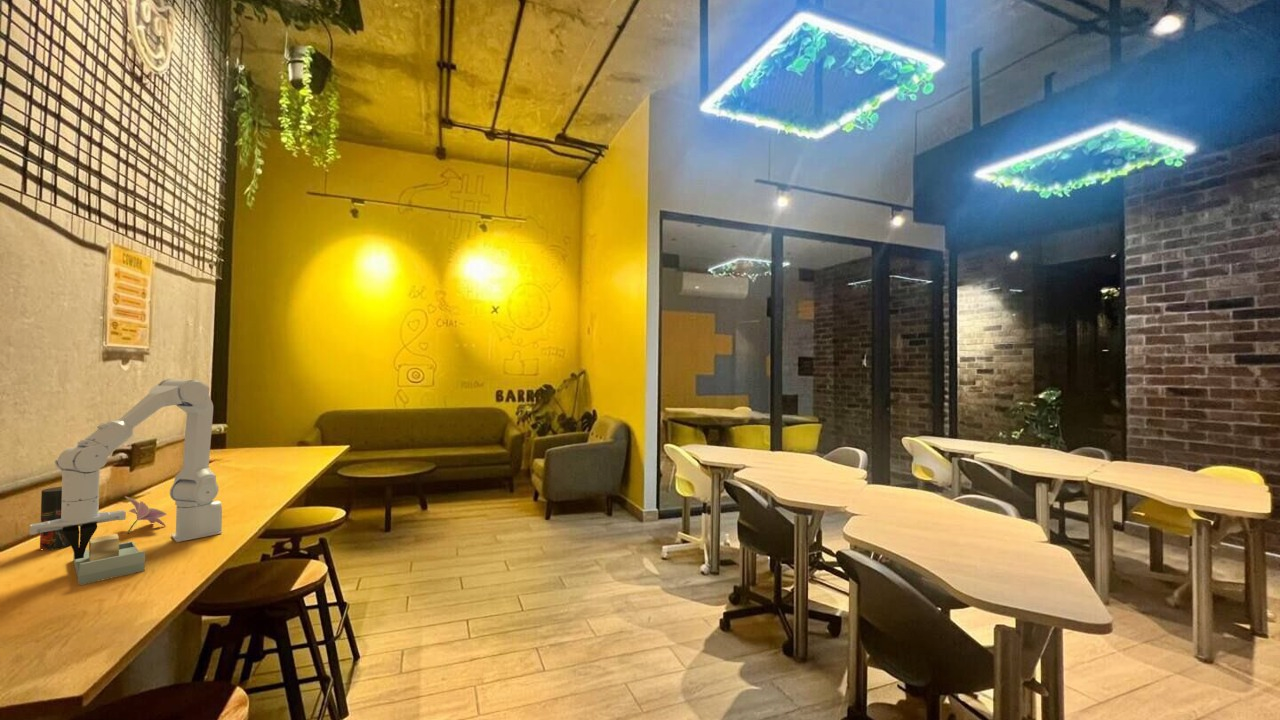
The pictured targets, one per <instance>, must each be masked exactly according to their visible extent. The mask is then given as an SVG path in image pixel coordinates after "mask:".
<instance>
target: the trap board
mask: <svg viewBox="0 0 1280 720" xmlns="http://www.w3.org/2000/svg"><path fill="white" fill-rule="evenodd" d="M73 563H74V570H75V573H76V576H77V577H76V578H77V582H78V585H79V586H83V585H88V584H92V583H95V582H94V581H97V582H99V581H98V580H101V581H103V580H102V579H106V580H108V579H107V578H110V579H112V578H111V577H115V578H117V577H116V576H119V577H123V576H122V575H124V576H127V574H128V575H132V574H136V572H137V573H140V571H141V572H144V571H145V567H146V550H140V551H139V549H138V548H137V546H136V544H135V542H134V541H133V540H132V541H127V542H121V543H120V542H119V556H115V557H110V558H105V559H100V560H95V561H90V560H89V548H88V549H86V550H85V553H84V558H80V559H75V558H74V557H73ZM91 582H92V583H91ZM87 583H88V584H87Z"/></svg>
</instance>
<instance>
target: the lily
mask: <svg viewBox="0 0 1280 720" xmlns="http://www.w3.org/2000/svg"><path fill="white" fill-rule="evenodd" d="M125 498H126V499H127V500H128V501H129V502H130V503H131V504H132V505H133V506H134V508H131V509H129V511H128V512H129V513H133V514H136V519H135V521H134V522H133V524H132V525H131V526H130V528H129V529H128V530H127V533H126V535H129V534H130V532H131V530H132V528H133V527H134V526H135V524H136V523H137V522H138V521H143V520H144V521H145V520H147V521H148V522H149V523H150V524H151V523H154V524H155V523H158V524H159V525H162V526H164V527H165V526H166V524H165V523H164V522H163V521H162V520H161V519H160V518H162V517H164V516H166V515H167V513H166V512H165V511H162V510H160V509H157V508H153V507H151V508H150V507H149V506H148V505H147V504H146V503H144V501H141V500H140V501H139V502H138V501H137V500H136V499H134V498H132V497H129V496H125ZM128 533H129V534H128Z"/></svg>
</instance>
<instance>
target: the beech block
mask: <svg viewBox="0 0 1280 720" xmlns="http://www.w3.org/2000/svg"><path fill="white" fill-rule="evenodd" d="M119 544H120V537H119V535H118V533H114V534H109V535H101V536H97V537H91V539H90V541H89V542H88V549H89V560H90V561H95V560H100V559H105V558H110V557H115V556H119Z"/></svg>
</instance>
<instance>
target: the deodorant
mask: <svg viewBox="0 0 1280 720" xmlns="http://www.w3.org/2000/svg"><path fill="white" fill-rule="evenodd" d="M40 497H41V501H40V503H41V505H40V523H42V522H47V521H52V520H57V519H61V506H62V486H56V487H50V488H45V489H42V490H41V496H40ZM39 536H40V539H39V550H40V549H43V550H44V551H55V550H60V549H65V548H69V547H71V545H70V543H69V541H68V540H67V538H66V537H65V536H64V534H63V532H62V529H59V530H53V531H47V532H41V533H39ZM43 550H42V551H43Z"/></svg>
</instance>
